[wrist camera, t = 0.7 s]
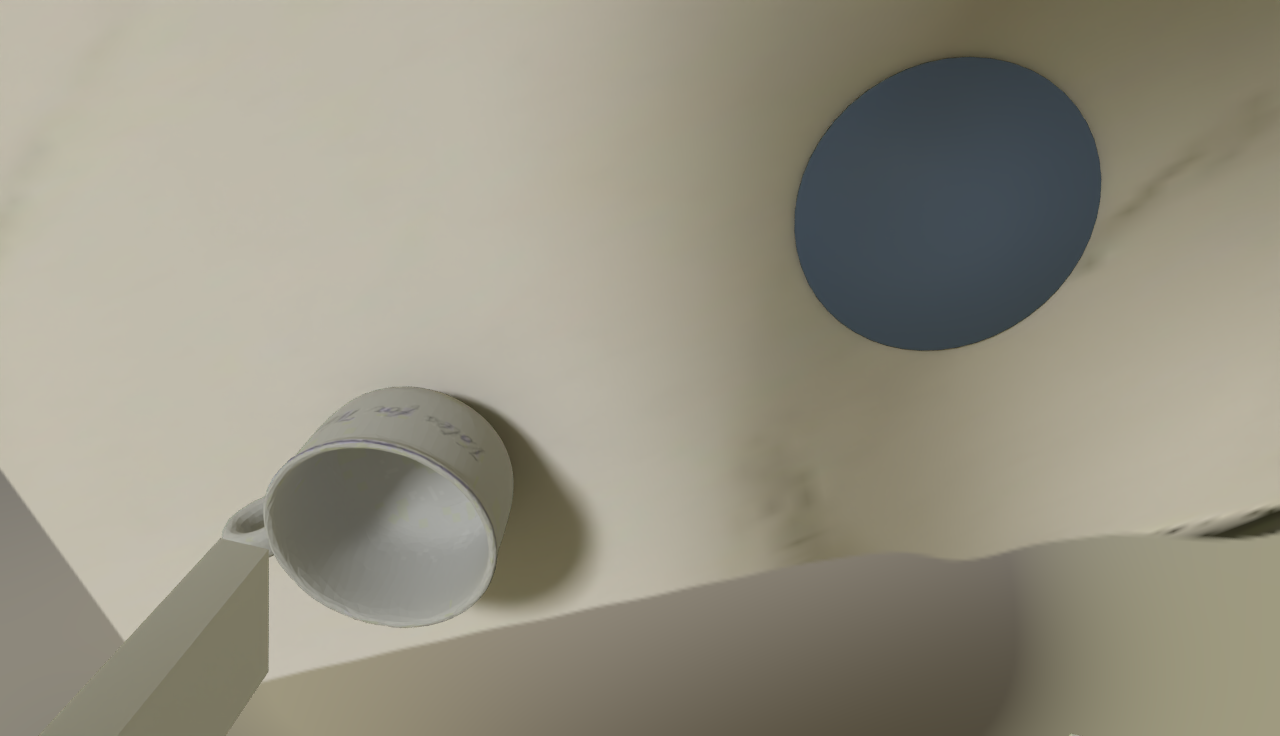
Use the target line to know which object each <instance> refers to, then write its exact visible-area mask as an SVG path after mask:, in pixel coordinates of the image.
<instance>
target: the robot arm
mask: <svg viewBox="0 0 1280 736" xmlns="http://www.w3.org/2000/svg"><path fill="white" fill-rule="evenodd" d="M268 647H269V549H265V548H261V547H256V546H252V545H248V544H243V543H239V542H234V541H230V540H226V539H221V538H220V539H219V540H218V542H217V543H216V544H215V545H214V546H213V547H212V548H211V549H210V550H209V551H208V552H207V553H206V555H205V556H204V557H203V558H202V559H201V560H200V561H199V562H198V563H197V564H196V565H195V567H194V568H193V569H192V570H191V571H190V572H189V573H188V574H187V575H186V576H185V577H184V578H183V580H182V581H181V582H180V583H179V584H178V585H177V586H176V587H175V588H174V589H173V590H172V591H171V593H170V594H169V595H168V596H167V597H166V598H165V599H164V600H163V601H162V602H161V603H160V604H159V606H158V607H157V608H156V609H155V610H154V611H153V612H152V613H151V614H150V615H149V616H148V617H147V619H146V620H145V621H144V622H143V623H142V624H141V625H140V626H139V627H138V628H137V629H136V631H135V632H134V633H133V634H132V635H131V636H130V637H129V638H128V639H127V640H126V641H125V642H124V644H123V645H122V646H121V647H120V648H119V649H118V650H117V651H116V652H115V653H114V655H112V657H111V658H110V659H109V660H108V661H107V662H106V663H105V664H104V665H103V666H102V667H101V668H100V670H99V671H98V672H97V673H96V674H95V675H94V676H93V677H92V678H91V679H90V680H89V681H88V683H87V684H86V685H85V686H84V687H83V688H82V689H81V690H80V691H79V692H78V694H77V695H76V696H75V697H74V698H73V699H72V700H71V701H70V702H69V703H68V704H67V706H65V708H64V709H63V710H62V711H61V712H60V713H59V714H58V715H57V716H56V717H55V718H54V719H53V721H52V722H51V723H50V724H49V725H48V726H47V727H46V728H45V729H44V730H43V731H42V733H41V734H40V735H39V736H226V734H227V733H228V732H229V730H230V729H231V727H232V726H233V724H234V723H235V721H236V719H237V718H238V717H239V715H240V713H241V712H242V711H243V709H244V708H245V706H246V705H247V703H248V702H249V700H250V698H251V697H252V695H253V694H254V692H255V691H256V689H257V688H258V686H259V685H260V683H261V682H262V680H263V679H264V677H265V676H266V674H267V673H268ZM1069 736H1080V735H1075V734H1071V733H1070V735H1069Z"/></svg>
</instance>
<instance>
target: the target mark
mask: <svg viewBox="0 0 1280 736" xmlns="http://www.w3.org/2000/svg"><path fill="white" fill-rule="evenodd" d="M1100 192H1101V172H1100V162H1099V157H1098V153H1097V149H1096V145H1095V141H1094V138H1093V136H1092V134H1091V131H1090V129H1089V127H1088V124H1087V122H1086V121H1085V119H1084V118H1083V116H1082V114H1081V113H1080V111H1079V110H1078V108H1077V107H1076V106H1075V104H1074V103H1073V102H1072V101H1071V100H1070V99H1069V98H1068V97H1067V95H1066V94H1065V93H1064V92H1063V91H1061V90H1060V89H1059V88H1058V87H1056V86H1055V85H1054V84H1053V83H1052V82H1050V81H1049V80H1047V79H1046V78H1044V77H1042V76H1040V75H1039V74H1037V73H1035V72H1034V71H1032V70H1029V69H1027V68H1024V67H1021V66H1019V65H1016V64H1014V63H1010V62H1005V61H1001V60H996V59H991V58H978V57H960V58H947V59H942V60H937V61H932V62H927V63H924V64H921V65H918V66H915V67H912V68H909V69H906V70H904V71H902V72H900V73H898V74H895V75H893V76H891V77H889V78H887V79H885V80H884V81H882V82H880V83H879V84H877V85H876V86H874V87H873V88H871V89H870V90H868V91H866V92H865V93H864V94H863V95H862V96H860V97H859V98H858V99H857V100H855V101H854V102H853V103H852V104H851V105H849V106H848V107H847V109H846V110H845V111H844V112H843V113H842V114H841V115H840V116H839V117H838V118H837V119H836V120H835V121H834V122H833V124H832V125H831V126H830V128H829V129H828V130H827V132H826V133H825V134H824V136H823V137H822V138H821V140H820V142H819V143H818V145H817V147H816V149H815V150H814V152H813V154H812V155H811V158H810V160H809V162H808V165H807V167H806V169H805V172H804V174H803V177H802V180H801V184H800V187H799V191H798V195H797V202H796V208H795V239H796V248H797V252H798V256H799V260H800V264H801V267H802V269H803V272H804V274H805V276H806V279H807V281H808V283H809V285H810V287H811V288H812V290H813V292H814V293H815V295H816V297H817V298H818V299H819V301H820V302H821V303H822V304H823V306H824V307H825V308H826V309H827V310H828V311H829V312H830V313H831V314H832V315H833V316H834V317H835V318H836V319H837V320H838V321H840V322H841V323H842V324H844V325H845V326H847V327H848V328H849V329H851V330H852V331H854V332H856V333H858V334H860V335H862V336H864V337H866V338H868V339H870V340H872V341H875V342H878V343H881V344H884V345H887V346H892V347H897V348H901V349H910V350H942V349H949V348H956V347H960V346H964V345H968V344H972V343H976V342H979V341H981V340H984V339H986V338H989V337H992V336H994V335H996V334H998V333H1000V332H1002V331H1004V330H1006V329H1008V328H1010V327H1012V326H1014V325H1015V324H1017V323H1018V322H1020V321H1021V320H1023V319H1024V318H1026V317H1027V316H1029V315H1030V314H1031V313H1033V312H1034V311H1035V310H1036V309H1038V308H1039V307H1040V306H1041V305H1042V304H1044V303H1045V302H1046V301H1047V300H1048V299H1049V298H1050V297H1051V296H1052V295H1053V294H1054V293H1055V292H1056V291H1057V290H1058V289H1059V287H1060V286H1061V285H1062V284H1063V282H1064V281H1065V280H1066V279H1067V277H1068V276H1069V275H1070V273H1071V272H1072V270H1073V269H1074V267H1075V266H1076V264H1077V262H1078V261H1079V259H1080V258H1081V256H1082V254H1083V252H1084V250H1085V248H1086V245H1087V243H1088V241H1089V239H1090V237H1091V234H1092V231H1093V228H1094V224H1095V221H1096V218H1097V213H1098V208H1099V202H1100Z"/></svg>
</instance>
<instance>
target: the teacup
mask: <svg viewBox="0 0 1280 736" xmlns="http://www.w3.org/2000/svg"><path fill="white" fill-rule="evenodd" d="M513 488H514V479H513V470H512V465H511V461H510V458H509V455H508V452H507V450H506V448H505V446H504V444H503V442H502V440H501V438H500V437H499V435H498V434H497V432H496V431H495V430H494V429H493V427H492V426H491V425H490V424H489V423H488V422H487V421H486V420H485V419H484V418H483V417H482V416H481V415H480V414H479V413H477V412H476V411H475V410H473V409H472V408H471V407H469V406H468V405H466V404H464V403H463V402H461V401H459V400H457V399H455V398H453V397H451V396H449V395H446V394H444V393H441V392H438V391H434V390H430V389H425V388H419V387H390V388H384V389H379V390H375V391H372V392H369V393H366V394H364V395H361V396H359V397H357V398H355V399H353V400H352V401H350V402H348V403H347V404H345V405H344V406H343V407H341V408H340V409H339V410H337V411H336V412H335V413H334V414H333V415H332V416H330V417H329V418H328V419H327V420H326V421H325V422H324V423H323V424H322V425H321V426H320V428H319V429H318V430H317V431H316V432H315V433H314V434H313V435H312V437H311V438H310V439H309V440H308V441H307V442H306V443H305V445H304V446H303V447H302V448H301V449H300V451H299V452H298V453H297V454H296V456H294V457H292V458H291V459H290V460H289V461H288V462H287V463H286V464H285V465H284V466H283V467H282V468H281V469H280V470H279V471H278V472H277V474H276V475H275V476H274V478H273V479H272V481H271V483H270V485H269V487H268V489H267V492H266V495H265V496H264V497H262V498H260V499H258V500H256V501H254V502H252V503H250V504H248V505H247V506H245V507H244V508H242V509H241V510H239V511H238V512H237V513H236V514H234V515H233V516H232V517H231V518H230V519H229V520H228V522H227V523H226V525H225V527H224V529H223V531H222V539H226V540H230V541H234V542H239V543H243V544H248V545H252V546H256V547H261V548H265V549H269V557H271V556H273V555H275V557H276V559H277V561H278V562H279V564H280V566H281V567H282V568H283V569H284V571H285V572H286V573H287V574H288V575H289V576H290V578H291V579H293V580H294V581H295V582H296V584H297V585H298V586H299V587H300V588H301V589H303V590H304V591H305V592H306V593H307V594H308V595H309V596H311V597H312V598H313V599H315V600H316V601H318V602H320V603H321V604H323V605H325V606H326V607H328V608H330V609H332V610H334V611H337V612H339V613H341V614H343V615H346V616H348V617H351V618H353V619H355V620H360V621H363V622H366V623H370V624H375V625H382V626H388V627H399V628H409V627H421V626H429V625H433V624H436V623H440V622H443V621H446V620H449V619H451V618H453V617H455V616H457V615H459V614H461V613H463V612H464V611H466V610H467V609H468V608H470V607H471V606H473V605H474V604H475V603H476V602H477V601H478V600H479V599H480V598H481V596H482V595H483V594H484V592H485V591H486V590H487V588H488V586H489V584H490V582H491V580H492V577H493V574H494V571H495V568H496V562H497V553H498V550H499V547H500V544H501V541H502V538H503V535H504V532H505V528H506V525H507V521H508V518H509V514H510V510H511V506H512V499H513Z"/></svg>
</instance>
